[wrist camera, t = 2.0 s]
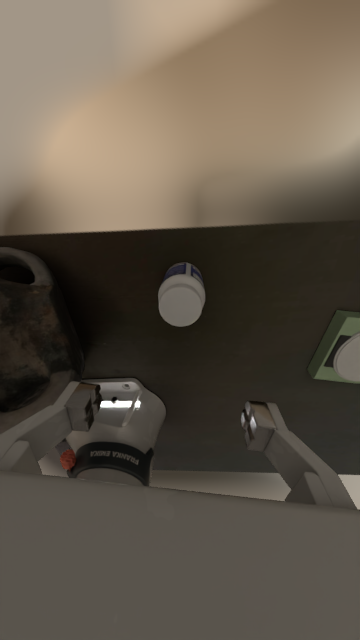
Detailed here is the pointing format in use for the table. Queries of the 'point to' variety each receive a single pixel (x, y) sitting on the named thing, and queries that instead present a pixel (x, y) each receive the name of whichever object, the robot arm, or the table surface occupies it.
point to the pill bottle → (181, 295)
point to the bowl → (34, 341)
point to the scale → (339, 350)
